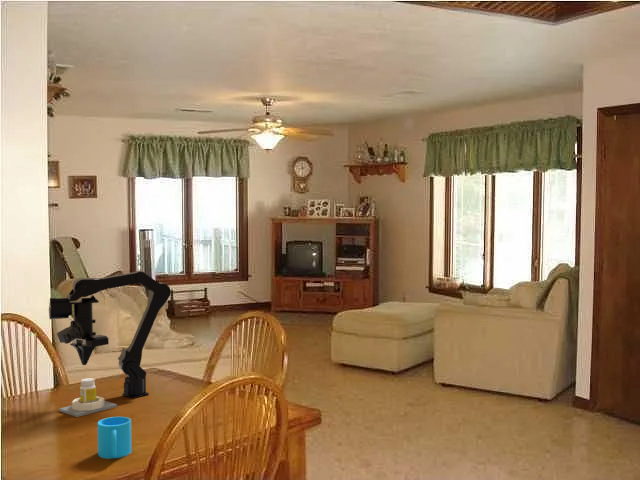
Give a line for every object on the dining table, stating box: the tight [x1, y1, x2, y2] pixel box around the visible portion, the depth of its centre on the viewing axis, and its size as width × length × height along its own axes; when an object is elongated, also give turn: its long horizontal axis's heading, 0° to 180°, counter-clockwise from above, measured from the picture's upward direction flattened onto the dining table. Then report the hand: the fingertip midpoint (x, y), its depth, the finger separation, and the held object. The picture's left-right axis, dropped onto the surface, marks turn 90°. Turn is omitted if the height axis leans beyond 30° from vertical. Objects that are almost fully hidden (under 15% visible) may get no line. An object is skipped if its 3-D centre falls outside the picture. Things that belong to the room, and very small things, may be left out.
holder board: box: [58, 395, 118, 418], centre depth 214 cm, size 14×10×3 cm
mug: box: [97, 416, 132, 459], centre depth 173 cm, size 12×8×8 cm
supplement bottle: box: [79, 377, 97, 403], centre depth 214 cm, size 5×5×8 cm
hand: (84, 364), depth 222 cm, fingers closed
